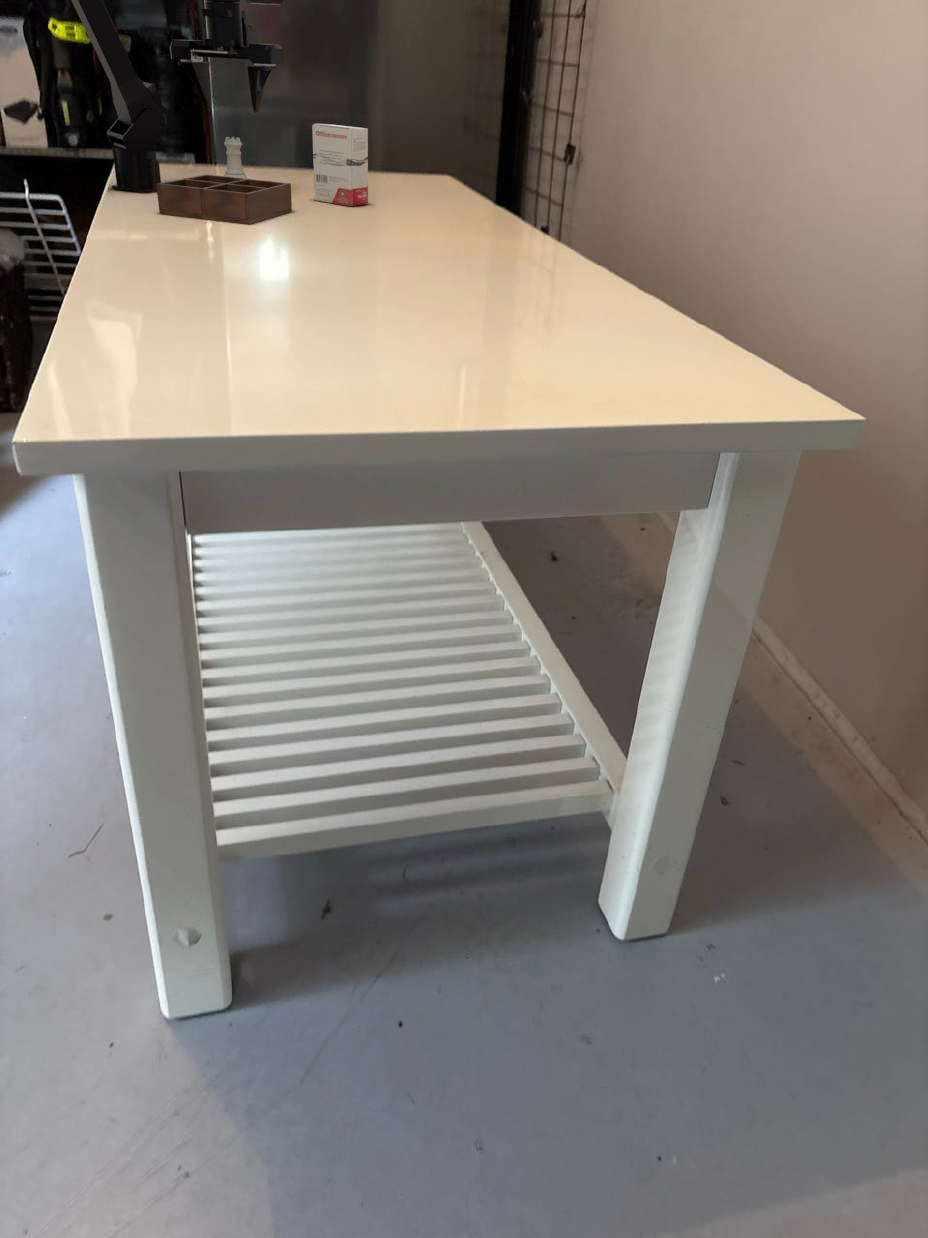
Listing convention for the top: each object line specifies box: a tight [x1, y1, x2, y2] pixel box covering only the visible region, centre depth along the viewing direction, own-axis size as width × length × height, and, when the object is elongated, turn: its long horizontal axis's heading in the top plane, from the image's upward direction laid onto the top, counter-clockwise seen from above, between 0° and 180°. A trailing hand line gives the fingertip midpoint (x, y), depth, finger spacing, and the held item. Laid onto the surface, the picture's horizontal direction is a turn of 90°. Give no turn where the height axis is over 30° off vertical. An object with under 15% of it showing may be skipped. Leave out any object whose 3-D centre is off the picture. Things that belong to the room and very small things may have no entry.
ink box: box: [311, 123, 369, 207], centre depth 153 cm, size 9×5×12 cm, turn 58°
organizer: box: [156, 174, 293, 225], centre depth 139 cm, size 15×15×4 cm
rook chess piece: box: [223, 136, 248, 179], centre depth 161 cm, size 4×4×8 cm
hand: (232, 110), depth 157 cm, fingers open, 9 cm apart
